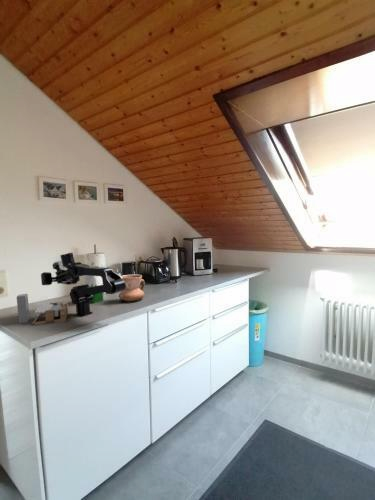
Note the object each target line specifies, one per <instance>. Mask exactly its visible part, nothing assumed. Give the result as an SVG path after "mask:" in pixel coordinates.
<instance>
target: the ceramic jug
mask: <svg viewBox="0 0 375 500" xmlns="http://www.w3.org/2000/svg"><path fill="white" fill-rule="evenodd" d="M120 276H121V278H122V279H123V280H124V282H125V283H126V288H125V290H124V291H121V292H118V293H119V294H118V297H119V299H120V300H121V301H124V302H138V301H140V300H142V299H143V298H144V297H145V292H144V289H145V286H146V285H145V284H146V283H145V280H144V279H142V278H143V275H142V274H137V273H134V274H133V273H132V274H126V275H125V274H123V275H120ZM140 285H141V287H140ZM139 287H140V288H139Z"/></svg>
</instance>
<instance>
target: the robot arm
mask: <svg viewBox="0 0 375 500" xmlns="http://www.w3.org/2000/svg"><path fill="white" fill-rule="evenodd" d="M59 257H60V260H61V261H54V262H53V263H52V269H53V270H56V271H55V272H54V273H55V276H53V275H52V273H51V272H50V271H49V272H48V271H47V272H46V271H44V272H42V273H41V274H40V279H41V285H42V286H50V285H52V284H53V283H57V284H63V285H68V286H69V285H76V284H77V283H78V282H80V279H81V278H80V277H84V275H90V276H101V279H102V285H98V286H93V287H89V286H88V284H85V283H84V284H80V285H76V286H73V287H72V288H70V292H69V297H70V300H71V303H72V304H73V305H75V311H76V313H75V312H74V313H73V315H74V316H78V317H85V316H88V315H91V314H93V313H94V312H93V311H91V307H90V304H91V303H89V301H91V300H93V296H92V295H93V294H99V293H103V294H104V293H106V294H107V295H114V294H118V293H120V292H121V291H124V290H125V288H126V283H125V282H124V280H123V279H122V278H121V276H122V275H120V274H119V273H117V272H115V271H114V270H113V268H112V267H109V266H108V267H100V266H99V267H95V266H90V265H89V264H86V263H82V262H80V261H79V262H78V261H77V262H76V261H75V257H74V253H73V252H68V253H64V254H61V255H60V256H59ZM108 277H109V278H110V279H112V280H109V278H108Z"/></svg>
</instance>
